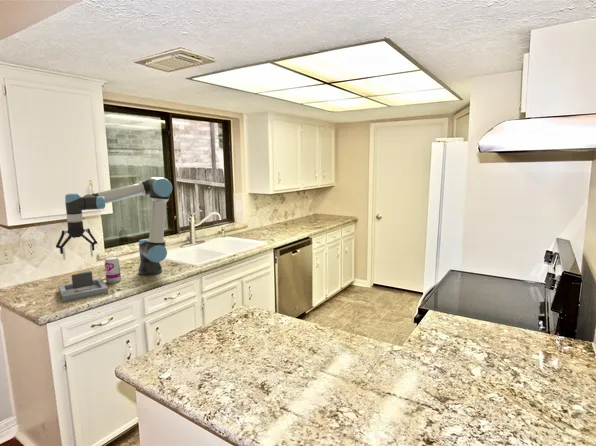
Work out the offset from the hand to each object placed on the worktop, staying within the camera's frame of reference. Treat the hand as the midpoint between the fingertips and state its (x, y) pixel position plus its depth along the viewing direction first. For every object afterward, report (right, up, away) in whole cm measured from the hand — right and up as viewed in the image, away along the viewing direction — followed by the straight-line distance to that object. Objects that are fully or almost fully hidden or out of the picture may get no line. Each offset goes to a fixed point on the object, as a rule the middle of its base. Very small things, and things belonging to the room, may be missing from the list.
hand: (78, 257), depth 210 cm
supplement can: (+10, -17, +21) cm, 29 cm away
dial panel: (+2, -20, +1) cm, 20 cm away
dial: (+2, -19, +1) cm, 19 cm away
